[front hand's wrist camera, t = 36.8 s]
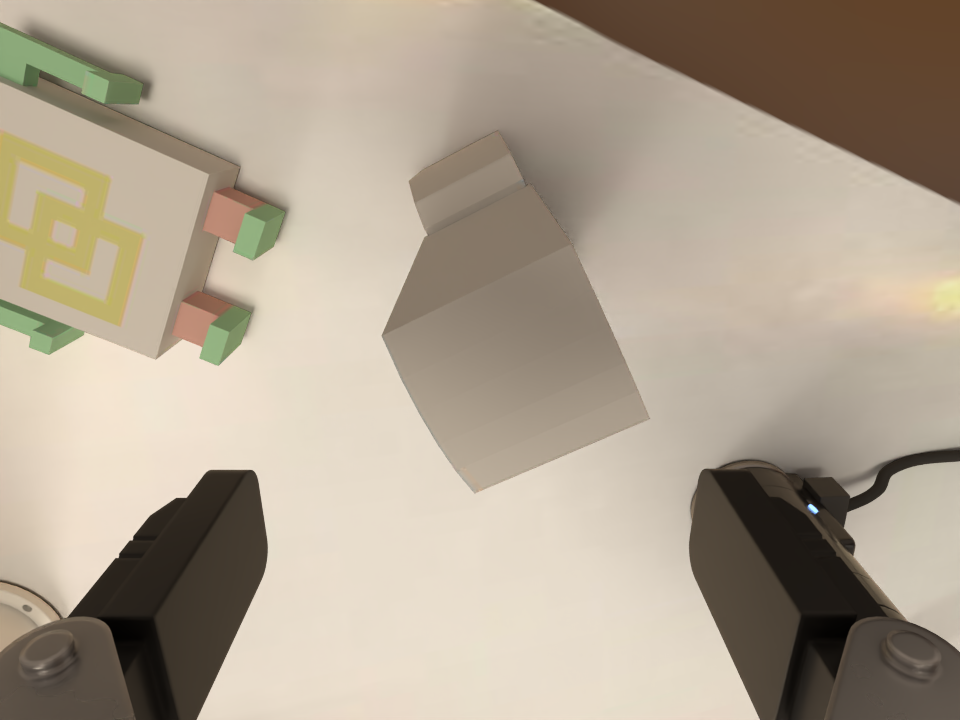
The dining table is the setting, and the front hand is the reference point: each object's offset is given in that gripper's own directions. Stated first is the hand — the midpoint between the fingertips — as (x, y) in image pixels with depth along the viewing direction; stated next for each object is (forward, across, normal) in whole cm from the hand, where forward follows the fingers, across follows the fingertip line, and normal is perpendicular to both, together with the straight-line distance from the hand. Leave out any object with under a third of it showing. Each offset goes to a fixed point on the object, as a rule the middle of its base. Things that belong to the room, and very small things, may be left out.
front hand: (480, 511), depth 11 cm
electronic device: (+39, +1, -2) cm, 39 cm away
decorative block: (+39, -28, 0) cm, 48 cm away
